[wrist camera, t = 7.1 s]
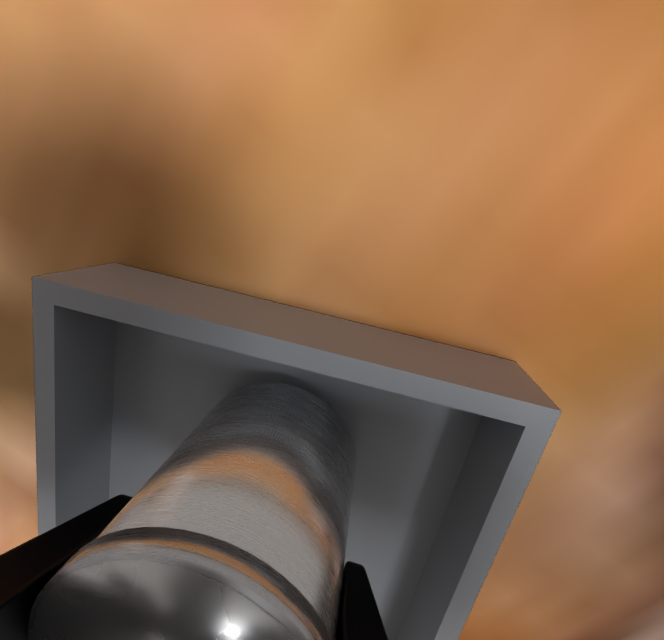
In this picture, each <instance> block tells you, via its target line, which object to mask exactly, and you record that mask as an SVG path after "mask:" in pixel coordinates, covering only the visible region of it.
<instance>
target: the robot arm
mask: <svg viewBox="0 0 664 640" xmlns="http://www.w3.org/2000/svg"><path fill="white" fill-rule="evenodd" d="M132 498H133V497H131V496H128V495H124V494H120V495H117V496H115V497H113V498H111V499H109V500H107V501H105V502H103V503H101V504H99V505H97V506H95V507H94V508H92V509H90V510H88V511H86V512H84V513H82V514H80V515H78V516H76V517H74V518H72V519H70V520H68V521H66V522H64V523H62V524H60V525H58V526H56V527H54V528H52V529H51V530H49V531H47V532H45V533H43V534H41V535H39V536H37V537H35V538H33V539H31V540H29V541H27V542H25V543H23V544H21V545H19V546H17V547H15V548H13V549H11V550H9V551H8V552H6V553H4V554H2V555H0V640H28V621H29V617H30V612H31V608H32V606H33V604H34V602H35V600H36V598H37V596H38V594H39V593H40V592H41V590H42V589H43V588H44V586H45V585H46V584H47V583H48V582H49V581H50V579H51V578H52V577H53V576H54V575H55V574H56V573H57V572H58V571H59V570H60V569H61V568H62V566H63V565H64V564H65V563H66V562H67V561H68V560H69V559H70V558H71V557H72V556H73V555H74V554H75V553H76V552H77V551H78V550H79V549H81V548H82V547H83V546H85V545H86V544H88V543H89V542H91V541H93V540H94V539H96V538H97V537H98V536H99V534H100V533H101V532H102V531H103V530H104V529H105V528H106V527H107V526H108V524H109V523H110V522H111V521H112V520H113V519H114V518H115V517H116V516H117V514H118V513H119V512H120V511H121V510H122V509H123V508H124V507H125V506H126V504H127V503H128V502H129V501H130V500H131V499H132ZM336 640H388V637H387V634H386V631H385V628H384V625H383V622H382V619H381V616H380V613H379V610H378V606H377V603H376V600H375V597H374V594H373V591H372V588H371V585H370V582H369V579H368V576H367V573H366V570H365V568H364V566H363V565H361V564H358V563H354V562H351V561H347V562H346V564H345V566H344V572H343V581H342V589H341V598H340V607H339V615H338V624H337V633H336Z"/></svg>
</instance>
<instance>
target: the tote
mask: <svg viewBox="0 0 664 640" xmlns="http://www.w3.org/2000/svg"><path fill="white" fill-rule="evenodd" d="M32 306H33V345H34V385H35V424H36V463H37V502H38V536H39V535H41V534H43V533H45V532H47V531H49V530H51V529H52V528H54V527H56V526H58V525H60V524H62V523H64V522H66V521H68V520H70V519H72V518H74V517H76V516H78V515H80V514H82V513H84V512H86V511H88V510H90V509H92V508H94V507H95V506H97V505H99V504H101V503H103V502H105V501H107V500H109V499H111V498H113V497H115V496H117V495H120V494H124V495H128V496H131V497H134V496H135V494H136V493H137V492H138V491H139V490H140V489H141V488H142V487H143V486H144V484H145V483H146V482H147V481H148V480H149V479H150V478H151V477H152V476H153V474H154V473H155V472H156V471H157V470H158V469H159V468H160V467H161V466H162V464H163V463H164V462H165V461H166V460H167V459H168V458H169V457H170V456H171V454H172V453H173V452H174V451H175V450H176V449H177V448H178V447H179V446H180V444H181V443H182V442H183V441H184V440H185V439H186V438H187V437H188V436H189V434H190V433H191V432H192V431H193V430H194V429H195V428H196V427H197V426H198V424H199V423H200V422H201V421H202V420H203V419H204V418H205V417H206V416H207V414H208V413H209V412H210V411H211V410H212V409H213V408H214V407H215V406H216V404H217V403H218V402H220V401H221V400H222V399H223V398H224V397H225V396H227V395H228V394H230V393H231V392H233V391H235V390H237V389H239V388H242V387H245V386H248V385H252V384H257V383H281V384H286V385H291V386H294V387H297V388H300V389H303V390H305V391H307V392H309V393H312V394H313V395H315V396H316V397H318V398H320V399H321V400H323V401H324V402H325V403H326V404H328V405H329V406H330V407H331V408H332V409H333V410H334V411H335V412H336V413H337V414H338V416H339V417H340V418H341V419H342V421H343V422H344V424H345V425H346V427H347V429H348V431H349V433H350V435H351V438H352V440H353V444H354V448H355V456H356V466H355V476H354V484H353V493H352V502H351V511H350V519H349V528H348V537H347V546H346V554H345V563H344V566H345V564H346V562H347V561H351V562H354V563H358V564H361V565H363V566H364V568H365V570H366V573H367V576H368V579H369V582H370V585H371V588H372V591H373V594H374V597H375V600H376V603H377V606H378V610H379V613H380V616H381V619H382V622H383V625H384V628H385V631H386V634H387V637H388V640H458V637H459V635H460V633H461V631H462V629H463V626H464V624H465V622H466V620H467V618H468V615H469V613H470V611H471V609H472V607H473V604H474V602H475V600H476V598H477V596H478V594H479V591H480V589H481V587H482V585H483V583H484V580H485V578H486V576H487V574H488V572H489V569H490V567H491V565H492V563H493V561H494V558H495V556H496V554H497V552H498V550H499V547H500V545H501V543H502V541H503V539H504V536H505V534H506V532H507V530H508V528H509V526H510V523H511V521H512V519H513V517H514V515H515V512H516V510H517V508H518V506H519V504H520V501H521V499H522V497H523V495H524V493H525V490H526V488H527V486H528V484H529V482H530V479H531V477H532V475H533V473H534V471H535V468H536V466H537V464H538V462H539V460H540V458H541V455H542V453H543V451H544V449H545V447H546V444H547V442H548V440H549V438H550V436H551V433H552V431H553V429H554V427H555V425H556V422H557V420H558V418H559V416H560V414H561V410H560V409H559V408H558V407H557V406H556V404H555V403H554V402H553V401H552V400H551V399H550V398H549V397H548V396H547V395H546V394H545V393H544V392H543V390H542V389H541V388H540V387H539V386H538V385H537V384H536V383H535V382H534V381H533V380H532V379H531V378H530V377H529V375H528V374H527V373H526V372H525V371H524V370H523V369H522V368H521V367H520V366H519V365H518V364H517V363H516V362H515V361H511V360H507V359H503V358H499V357H494V356H490V355H486V354H482V353H478V352H474V351H470V350H466V349H462V348H458V347H454V346H450V345H446V344H442V343H438V342H434V341H430V340H426V339H422V338H418V337H414V336H409V335H405V334H401V333H397V332H393V331H389V330H385V329H381V328H377V327H373V326H369V325H365V324H361V323H357V322H353V321H349V320H345V319H341V318H337V317H333V316H329V315H325V314H320V313H316V312H312V311H308V310H304V309H300V308H296V307H292V306H288V305H284V304H280V303H276V302H272V301H268V300H264V299H260V298H256V297H252V296H248V295H244V294H240V293H235V292H231V291H227V290H223V289H219V288H215V287H211V286H207V285H203V284H199V283H195V282H191V281H187V280H183V279H179V278H175V277H171V276H167V275H163V274H159V273H155V272H150V271H146V270H142V269H138V268H134V267H130V266H126V265H122V264H118V263H110V264H104V265H98V266H92V267H86V268H80V269H74V270H68V271H62V272H56V273H50V274H44V275H38V276H32Z"/></svg>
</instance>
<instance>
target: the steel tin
mask: <svg viewBox="0 0 664 640" xmlns="http://www.w3.org/2000/svg"><path fill="white" fill-rule="evenodd" d="M355 466H356V456H355V448H354V444H353V440H352V438H351V435H350V433H349V431H348V429H347V427H346V425H345V424H344V422H343V421H342V419H341V418H340V417H339V416H338V414H337V413H336V412H335V411H334V410H333V409H332V408H331V407H330V406H329V405H328V404H326V403H325V402H324V401H323V400H321V399H320V398H318V397H316V396H315V395H313V394H312V393H309V392H307V391H305V390H303V389H300V388H297V387H294V386H291V385H286V384H281V383H257V384H252V385H248V386H245V387H242V388H239V389H237V390H235V391H233V392H231V393H230V394H228V395H227V396H225V397H224V398H223V399H222V400H221V401H220V402H218V403H217V404H216V406H215V407H214V408H213V409H212V410H211V411H210V412H209V413H208V414H207V416H206V417H205V418H204V419H203V420H202V421H201V422H200V423H199V424H198V426H197V427H196V428H195V429H194V430H193V431H192V432H191V433H190V434H189V436H188V437H187V438H186V439H185V440H184V441H183V442H182V443H181V444H180V446H179V447H178V448H177V449H176V450H175V451H174V452H173V453H172V454H171V456H170V457H169V458H168V459H167V460H166V461H165V462H164V463H163V464H162V466H161V467H160V468H159V469H158V470H157V471H156V472H155V473H154V474H153V476H152V477H151V478H150V479H149V480H148V481H147V482H146V483H145V484H144V486H143V487H142V488H141V489H140V490H139V491H138V492H137V493H136V494H135V496H134V497H133V498H132V499H131V500H130V501H129V502H128V503H127V504H126V506H125V507H124V508H123V509H122V510H121V511H120V512H119V513H118V514H117V516H116V517H115V518H114V519H113V520H112V521H111V522H110V523H109V524H108V526H107V527H106V528H105V529H104V530H103V531H102V532H101V533H100V534H99V536H98V537H97V538H96V539H94V540H93V541H91V542H89V543H88V544H86V545H85V546H83V547H82V548H81V549H79V550H78V551H77V552H76V553H75V554H74V555H73V556H72V557H71V558H70V559H69V560H68V561H67V562H66V563H65V564H64V565H63V566H62V568H61V569H60V570H59V571H58V572H57V573H56V574H55V575H54V576H53V577H52V578H51V579H50V581H49V582H48V583H47V584H46V585H45V586H44V588H43V589H42V590H41V592H40V593H39V594H38V596H37V598H36V600H35V602H34V604H33V606H32V608H31V612H30V617H29V621H28V640H336V633H337V624H338V615H339V607H340V598H341V589H342V581H343V572H344V563H345V554H346V546H347V537H348V528H349V519H350V511H351V502H352V493H353V484H354V476H355Z"/></svg>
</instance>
